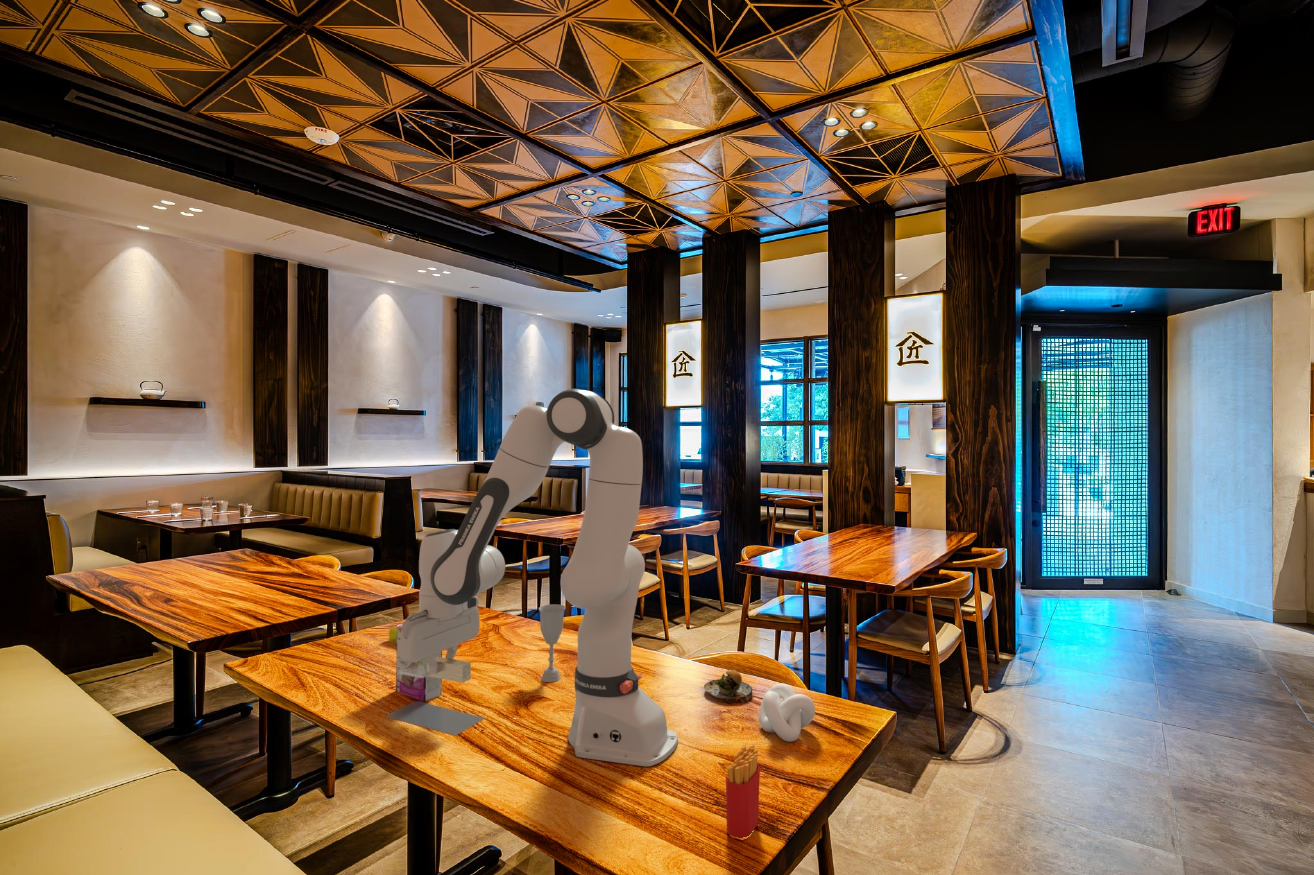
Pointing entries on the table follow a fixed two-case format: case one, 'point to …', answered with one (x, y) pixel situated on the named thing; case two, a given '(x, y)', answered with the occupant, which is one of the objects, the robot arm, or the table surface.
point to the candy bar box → (416, 678)
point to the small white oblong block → (442, 670)
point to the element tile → (393, 634)
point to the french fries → (743, 793)
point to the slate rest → (435, 717)
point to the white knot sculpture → (785, 712)
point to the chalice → (551, 635)
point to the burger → (730, 688)
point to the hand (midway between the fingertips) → (441, 670)
